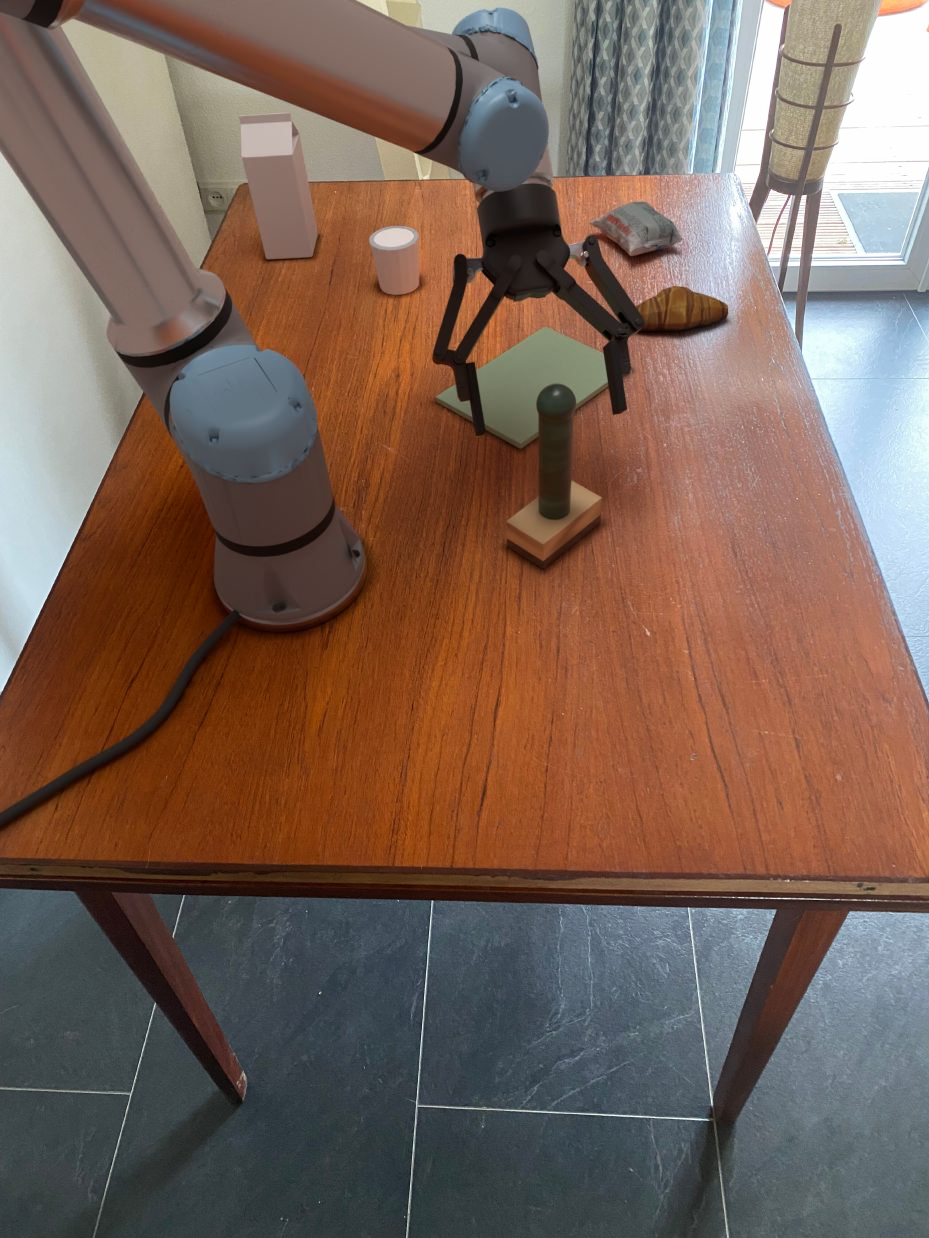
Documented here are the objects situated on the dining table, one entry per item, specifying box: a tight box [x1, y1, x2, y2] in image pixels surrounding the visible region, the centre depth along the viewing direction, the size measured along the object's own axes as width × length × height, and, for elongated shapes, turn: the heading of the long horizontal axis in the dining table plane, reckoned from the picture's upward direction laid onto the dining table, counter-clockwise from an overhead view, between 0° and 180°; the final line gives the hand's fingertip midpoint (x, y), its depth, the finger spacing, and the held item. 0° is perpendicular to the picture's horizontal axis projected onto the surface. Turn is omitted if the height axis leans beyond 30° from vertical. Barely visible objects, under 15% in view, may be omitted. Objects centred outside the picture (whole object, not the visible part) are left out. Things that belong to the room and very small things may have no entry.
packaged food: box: [589, 201, 683, 257], centre depth 130 cm, size 9×12×5 cm
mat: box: [435, 326, 609, 450], centre depth 111 cm, size 20×14×1 cm
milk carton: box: [238, 112, 319, 260], centre depth 131 cm, size 7×7×19 cm
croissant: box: [635, 285, 729, 332], centre depth 116 cm, size 14×7×5 cm, turn 95°
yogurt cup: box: [368, 225, 420, 296], centre depth 126 cm, size 7×7×7 cm
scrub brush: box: [505, 383, 603, 570], centre depth 87 cm, size 9×5×18 cm, turn 135°
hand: (550, 423), depth 86 cm, fingers open, 13 cm apart
